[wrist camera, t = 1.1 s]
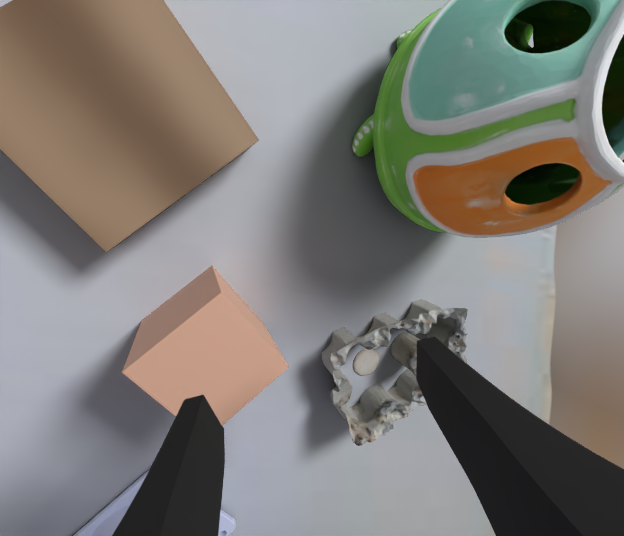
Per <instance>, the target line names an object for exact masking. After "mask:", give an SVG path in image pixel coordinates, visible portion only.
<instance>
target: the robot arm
mask: <svg viewBox="0 0 624 536" xmlns="http://www.w3.org/2000/svg"><path fill="white" fill-rule="evenodd" d="M416 380H417V382H418V385H419V387H420V389H421V392H422V394H423V396H424V399H425V401H426V403H427V405H428V408H429V410H430V411H431V413H432V415H433V417H434V419H435V420H436V422H437V424H438V426H439V427H440V429H441V431H442V433H443V434H444V436H445V438H446V440H447V441H448V443H449V445H450V447H451V448H452V450H453V452H454V454H455V455H456V457H457V459H458V461H459V462H460V464H461V466H462V468H463V469H464V471H465V473H466V475H467V476H468V478H469V480H470V482H471V484H472V486H473V488H474V490H475V492H476V494H477V496H478V498H479V500H480V502H481V504H482V506H483V509H484V511H485V513H486V515H487V517H488V519H489V521H490V523H491V526H492V528H493V530H494V532H495V534H496V536H624V469H622V468H620V467H618V466H617V465H615V464H613V463H611V462H609V461H608V460H606V459H604V458H602V457H601V456H599V455H597V454H595V453H594V452H592V451H590V450H589V449H587V448H585V447H584V446H582V445H580V444H578V443H577V442H576V441H574V440H572V439H571V438H569V437H567V436H566V435H564V434H562V433H561V432H560V431H558V430H556V429H555V428H553V427H552V426H550V425H549V424H547V423H546V422H544V421H543V420H541V419H540V418H538V417H537V416H535V415H534V414H532V413H531V412H529V411H528V410H527V409H525V408H524V407H522V406H521V405H520V404H518V403H517V402H515V401H514V400H513V399H511V398H510V397H509V396H507V395H506V394H505V393H503V392H502V391H501V390H499V389H498V388H497V387H495V386H494V385H493V384H492V383H490V382H489V381H488V380H486V379H485V378H484V377H483V376H481V375H480V374H479V373H478V372H476V371H475V370H474V369H473V368H471V367H470V366H469V365H468V364H467V363H465V362H464V361H463V360H462V359H461V358H459V357H458V356H457V355H456V354H455V353H454V352H452V351H451V350H450V349H449V348H448V347H447V346H446V345H444V344H443V343H442V342H441V341H440V340H439V339H438V338H436V337H435V336H434V337H430V338H426V339H422V340H418V341H417V362H416ZM224 464H225V453H224V428H223V427H222V425H221V423H220V422H219V420H218V418H217V417H216V415H215V413H214V411H213V410H212V408H211V406H210V405H209V403H208V401H207V400H206V398H205V396H204V395H200V396H196V397H192V398H188V399H185V400H184V401H183V403H182V405H181V407H180V409H179V411H178V414H177V416H176V418H175V420H174V422H173V424H172V426H171V428H170V430H169V432H168V434H167V436H166V438H165V440H164V442H163V445H162V447H161V449H160V451H159V452H158V454H157V456H156V458H155V460H154V462H153V464H152V466H151V468H150V469H149V470H148V471H147V472H146V473H145V474H144V475H142V476H141V477H140V478H139V479H138V480H137V481H135V482H134V483H133V484H132V485H131V486H130V487H129V488H127V489H126V490H125V491H124V492H123V493H122V494H121V495H119V496H118V497H117V498H116V499H115V500H114V501H112V502H111V503H110V504H109V505H108V506H107V507H106V508H104V509H103V510H102V511H101V512H100V513H99V514H97V515H96V516H95V517H94V518H93V519H92V520H91V521H89V522H88V523H87V524H86V525H85V526H84V527H83V528H81V529H80V530H79V531H78V532H77V533H76V534H74V535H73V536H228V535H229V534H231V533H232V532H233V531H234V529H235V527H236V524H235V520H234V519H233V518H232V517H231V516H229V515H228V514H227V513H225V512H224V511H222V510H221V499H222V488H223V476H224ZM221 531H223V532H221Z"/></svg>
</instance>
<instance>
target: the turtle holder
mask: <svg viewBox="0 0 624 536" xmlns="http://www.w3.org/2000/svg"><path fill="white" fill-rule="evenodd" d="M532 33H533V42H534V47H533V48H531V47H530V46H529V45H528V42H529V40H530V37H531V35H532ZM397 48H398V49H397V51H396V52H395V54H394V56H393V57H392V59H391V61H390V63H389V65H388V67H387V69H386V72H385V74H384V77H383V80H382V83H381V86H380V90H379V94H378V98H377V102H376V106H375V111H374V114H373V115H372V116H370V117H369V118H368V119H367V120H366V121H365V122H364V123H363V124H362V125H361V127H360V128H359V129H358V131H357V133H356V135H355V136H354V139H353V143H352V149H353V152H354V154H355V155H357V156H359V157H363V156H365V155H366V154H368V153H369V152H370V151H371V150H372V149H373V148H374V153H375V162H376V170H377V175H378V178H379V181H380V184H381V186H382V188H383V191H384V192H385V194H386V196H387V198H388V199H389V201H390V202H391V203H392V205H393V206H394V207H396V208H397V209H398V210H399V211H400V212H401V213H402V214H403V215H405V216H406V217H407V218H409V219H410V220H411V221H413V222H414V223H416V224H418V225H420V226H422V227H424V228H427V229H429V230H432V231H436V232H449V233H451V234H454V235H458V236H462V237H474V238H486V237H502V236H513V235H520V234H526V233H530V232H534V231H538V230H542V229H545V228H549V227H552V226H555V225H558V224H560V223H563V222H565V221H567V220H569V219H571V218H574V217H575V216H577V215H579V214H581V213H582V212H584V211H586V210H588V209H590V208H592V207H594V206H596V205H598V204H600V203H601V202H603V201H604V200H606V199H608V198H609V197H611V196H612V195H614V194H615V193H617V192H618V191H619V190H621V189H622V188H623V187H624V160H623V161H621V160H620V159H619V157H620V156H621V154H622V153H623V152H624V0H449V1H448V2H447V3H446V4H445V5H444V6H443V7H442V8H440V9H438V10H437V11H435V12H434V13H432V14H430V15H429V16H428V17H426V18H425V19H424V20H423V21H422V22H421V23H419V24H418V25H417V26H416V27H415V28H414V29H413V30H409V31H406V32H404V33H402V34H401V35H400V36H399V37H398V40H397Z"/></svg>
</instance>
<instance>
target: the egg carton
mask: <svg viewBox="0 0 624 536" xmlns="http://www.w3.org/2000/svg"><path fill="white" fill-rule="evenodd" d="M466 316H467V309H465V308H450V309H443V310H442V309H441V308H440V307H439V306H436V305H434V304H431V303H430V302H428V301H426V300H422V299H420V300H417V301H414V302H412V304H411V309H410V312H409V314H408V316H407V317H406V318H405V319H403V320H402V321H398V320H396V319H394V318H393V317H391V316H389V315H388V314H386V313H382V314H379V315H376V316H374V318H373V323H372V326H371V328H370V330H369V331H368V332H367V333H366V334H365V335H363V336H361V337H355V336H354V335H352V334H351V333H350V332H349V331H348V330H347V329H346V328H341V329H338V330H336V331H334V332H333V333H332V341H331V343H330V345H329V346H328V347H327V348H326V349H325V350H324V351H323V352H322V362H323V364H324V365H325V367H326V368H327V369H328V370H329V372H330V373H331V374H332V375H333V378H334V381H335V384H336V385H337V386H336V387H335V388H334V389H332V390H331V391H330V397H331V402H332V403H333V405H334V406H335V407H336V409H337V410H338V412H339V413H340V414H341V415H342V417H343V418H344V419H347V420H348V424H349V432H350V434H351V437H352V440H353V442H354V443H355V444H356V445H358V446H360V445H363V444H364V443H365V442H366V441H367V442H372V441H374V440H376V439H377V437H379V436H383V435H385V434H386V433H387V432H388V431H389V430H390V429H393V421H395V420H398V419H400V418H405V417H407V416H408V413H409V412H410V411H412V410H414V409H415V408H417V407H418V406H422V405H425V404H427V403H426V401H425V399H424V396H423V394H422V392H421V389H420V387H419V385H418V382H417V380H416V362H417V341H418V340H420V339H418V338H417V337H415V336H413V335H415V334H417V333H420V334H422V333H423V334H426V338H430V337H434V336H435V337H436V338H438V339H439V340H440V341H441V342H442V343H443V344H444V345H446V346H447V347H448V348H449V349H450V350H451V351H452V352H454V353H455V354H456V355H457V356H458V357H459V358H461V359H462V360H463V361H464V362H465V363H467V359H466V357H465V355H464V351H465V349H466V348H465V347H466V343H465V339H466V335H467V332H466V330H465V328H464V323H465V320H466ZM392 328H395V329H400V328H404V329H405V330H406V331H407V332H408V333H402V334H400V335H398V336H397V337H396V338H395V340H394V342H393V343H392V346H391V353H392V355H393V357H394V358H396V359H397V360H398V361H399V362H400V363H402V364H403V365H404V366H406V367H407V368H408V369H409V370H406V371H404V372H403V373H402V374H401V375H400V376H399V378H398V381H397V384H396V386H394V387H392V388H391V389H390V390H388V391H386V390H385V389H384V388H383V387H382V386H379V385H373V386H370V387H369V388H367V389H366V390H365V391H364V392H363V393H362V396H361V398H360V403H359V404H357V405H355V406H353V407H347V405H346V403H347V402H348V400H349V399H350V396H351V392H352V385H351V382H350V381H349V379H348V378H347V377H346V376H345V375H344V374H343V373H342V372H341V370H340V369H339V368H340V366H342V365H344V364H345V363H346V357H347V354H348V351H349V349H350V348H351V347H352V346H353V345H355V344H361V345H362V346H363V347H365V348H366V349H363V350H361V351H360V352H359V353H358V354H357V355H356V357H355V359H354V361H353V368H354V371H355V372H356V373H357V374H358V375H362V376H364V375H369V374H371V373H372V372H373V371H374V370H375V369H376V368H377V366H378V364H379V354H378V353H377V351H376V350H374V348H377V347H379V346H385V347H387V346H388V343H389V341H390V339H391V334H390V329H392ZM412 334H413V335H412Z"/></svg>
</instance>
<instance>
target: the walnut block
mask: <svg viewBox="0 0 624 536" xmlns="http://www.w3.org/2000/svg"><path fill="white" fill-rule="evenodd" d="M258 140H259V139H258V138H257V136H256V135H255V133H254V132H253V131H252V129H251V128H250V126H249V125H248V123H247V122H246V120H245V119H244V117H243V116H242V114H241V113H240V112H239V110H238V109H237V107H236V106H235V104H234V103H233V101H232V100H231V98H230V97H229V95H228V94H227V93H226V91H225V90H224V88H223V87H222V85H221V84H220V82H219V81H218V79H217V78H216V76H215V75H214V74H213V72H212V71H211V69H210V68H209V66H208V65H207V63H206V62H205V60H204V59H203V57H202V56H201V55H200V53H199V52H198V50H197V49H196V47H195V46H194V44H193V43H192V41H191V40H190V38H189V37H188V36H187V34H186V33H185V31H184V30H183V28H182V27H181V25H180V24H179V22H178V21H177V19H176V18H175V17H174V15H173V14H172V12H171V11H170V9H169V8H168V6H167V5H166V3H165V2H164V0H13V1H11V2H9V3H7V4H5V5H4V6H2V7H0V149H1V150H2V151H3V152H4V153H5V154H6V155H7V156H8V157H9V158H10V159H11V160H12V161H13V162H14V163H15V164H16V165H17V166H18V167H19V168H20V169H21V170H22V171H23V172H24V173H25V174H26V175H27V176H28V177H29V178H30V179H31V180H32V181H33V182H34V183H36V184H37V185H38V186H39V187H40V188H41V189H42V190H43V191H44V192H45V193H46V194H47V195H48V196H49V197H50V198H51V199H52V200H53V201H54V202H55V203H56V204H57V205H58V206H59V207H60V208H61V209H62V210H63V211H64V212H65V213H66V214H67V215H68V216H69V217H71V218H72V219H73V220H74V221H75V222H76V223H77V224H78V225H79V226H80V227H81V228H82V229H83V230H84V231H85V232H86V233H87V234H88V235H89V236H90V237H91V238H92V239H93V240H94V241H95V242H96V243H97V244H98V245H99V246H100V247H101V248H102V249H103V250H104V251H105V252H107V251H109V250H110V249H112V248H113V247H115V246H116V245H118V244H119V243H120V242H122V241H123V240H125V239H126V238H127V237H129V236H130V235H131V234H133V233H134V232H135V231H137V230H138V229H139V228H141V227H142V226H144V225H145V224H146V223H148V222H149V221H150V220H152V219H153V218H154V217H156V216H157V215H159V214H160V213H161V212H163V211H164V210H165V209H167V208H168V207H169V206H171V205H172V204H174V203H175V202H176V201H178V200H179V199H180V198H182V197H183V196H184V195H186V194H187V193H188V192H190V191H191V190H193V189H194V188H195V187H197V186H198V185H199V184H201V183H202V182H203V181H205V180H206V179H208V178H209V177H210V176H212V175H213V174H214V173H216V172H217V171H218V170H220V169H221V168H223V167H224V166H225V165H227V164H228V163H229V162H231V161H232V160H233V159H235V158H236V157H237V156H239V155H240V154H242V153H243V152H244V151H246V150H247V149H248V148H250V147H251V146H252V145H253V144H255V143H256V142H257V141H258Z"/></svg>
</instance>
